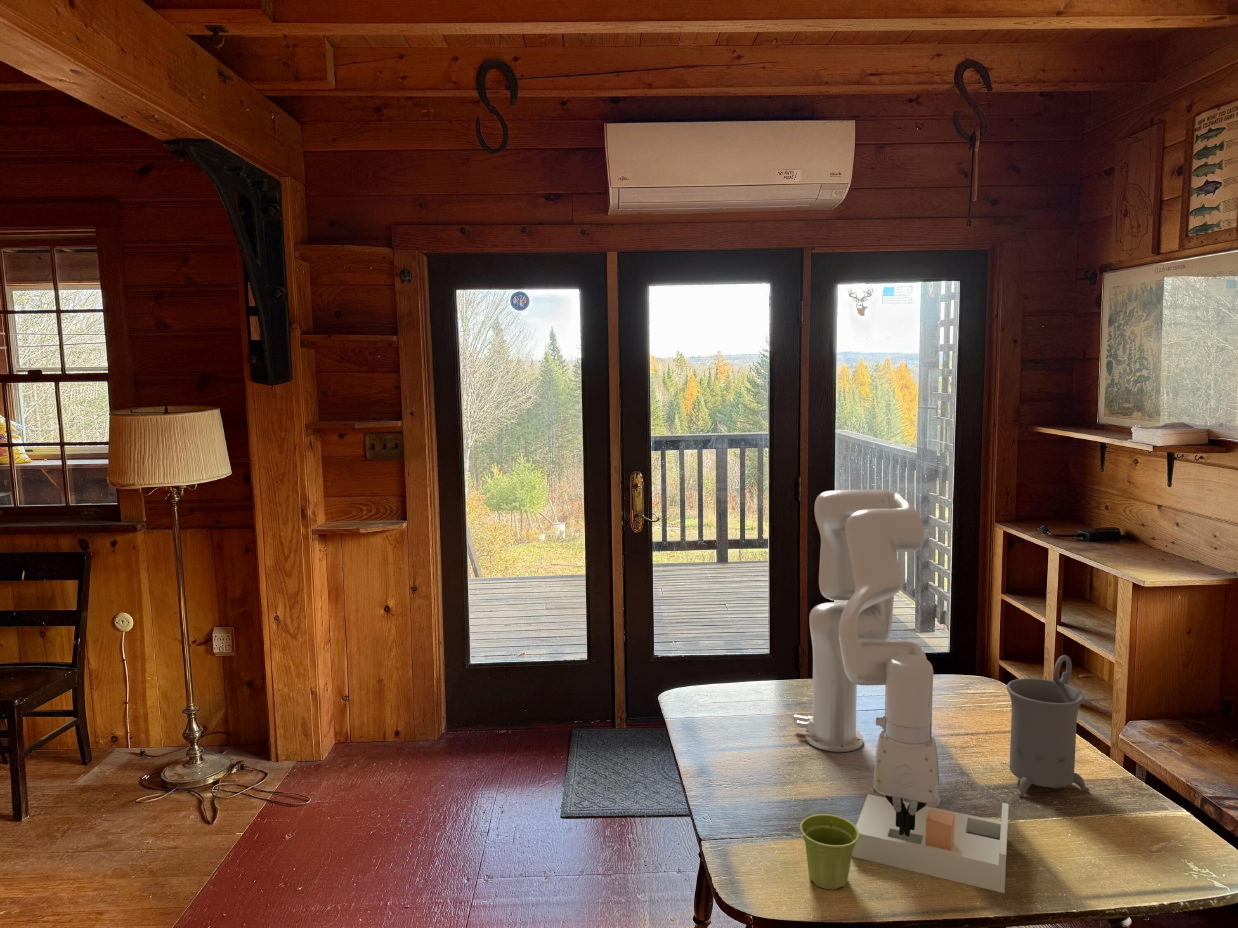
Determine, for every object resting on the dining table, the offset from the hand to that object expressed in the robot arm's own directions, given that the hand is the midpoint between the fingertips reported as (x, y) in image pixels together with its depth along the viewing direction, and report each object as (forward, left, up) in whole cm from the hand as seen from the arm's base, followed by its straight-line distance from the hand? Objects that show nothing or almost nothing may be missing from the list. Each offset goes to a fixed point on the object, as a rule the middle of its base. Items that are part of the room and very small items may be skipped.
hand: (905, 831), depth 142 cm
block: (+5, 0, -1) cm, 6 cm away
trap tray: (+4, +4, -4) cm, 7 cm away
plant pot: (-10, -12, -4) cm, 17 cm away
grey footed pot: (+22, +38, -4) cm, 44 cm away
